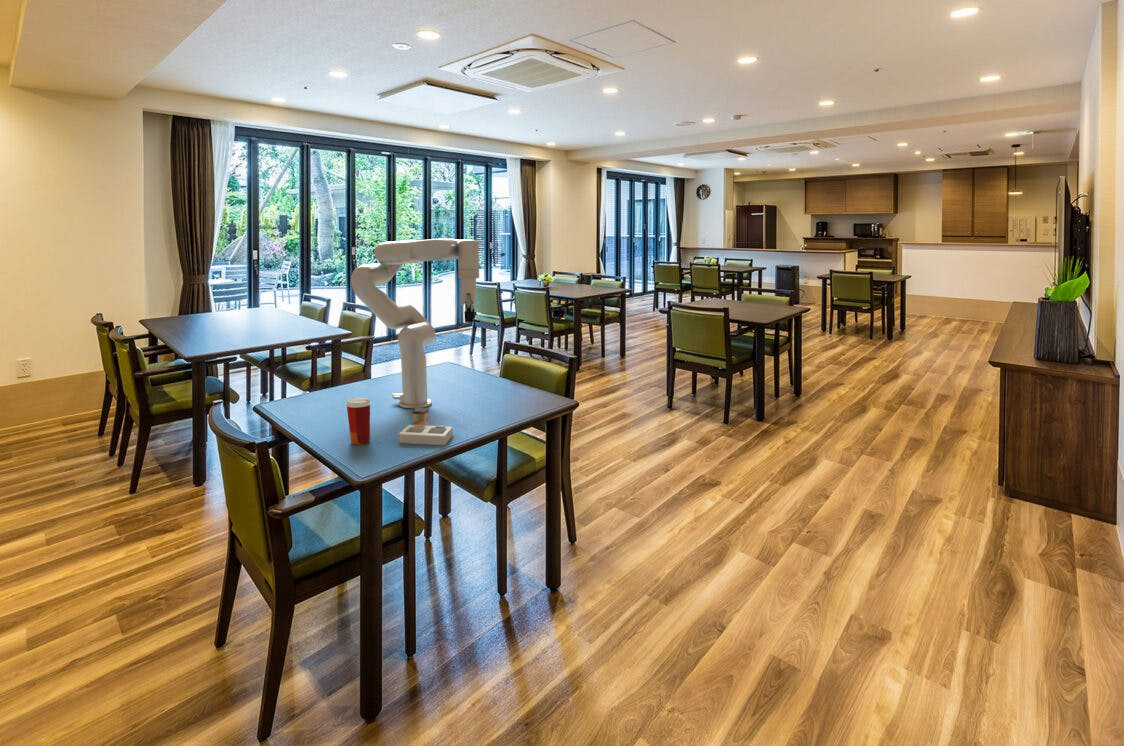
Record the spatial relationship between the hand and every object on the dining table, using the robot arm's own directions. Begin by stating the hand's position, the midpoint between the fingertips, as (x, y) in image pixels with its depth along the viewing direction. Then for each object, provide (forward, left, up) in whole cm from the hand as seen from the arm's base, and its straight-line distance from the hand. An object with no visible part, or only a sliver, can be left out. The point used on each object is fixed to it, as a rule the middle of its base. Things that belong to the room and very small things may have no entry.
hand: (469, 320), depth 229 cm
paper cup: (-26, -42, -35) cm, 61 cm away
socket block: (-6, -36, -35) cm, 50 cm away
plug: (-11, -26, -35) cm, 45 cm away
